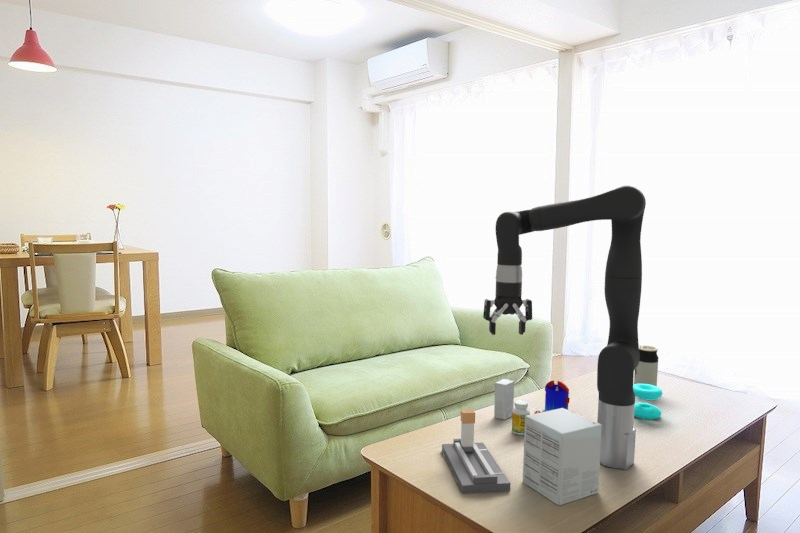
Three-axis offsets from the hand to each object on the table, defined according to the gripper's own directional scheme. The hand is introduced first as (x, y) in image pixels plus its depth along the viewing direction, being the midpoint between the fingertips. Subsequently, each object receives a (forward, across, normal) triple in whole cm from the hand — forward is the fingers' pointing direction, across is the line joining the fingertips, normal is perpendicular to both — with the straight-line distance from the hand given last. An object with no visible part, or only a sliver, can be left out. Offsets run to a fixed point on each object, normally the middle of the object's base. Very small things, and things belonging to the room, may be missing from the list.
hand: (507, 334), depth 161 cm
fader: (+30, -14, -12) cm, 35 cm away
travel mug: (+32, +68, +36) cm, 83 cm away
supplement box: (+32, +4, -30) cm, 45 cm away
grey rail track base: (+32, -14, -19) cm, 40 cm away
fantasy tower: (+32, +24, +18) cm, 44 cm away
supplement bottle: (+32, +7, +4) cm, 33 cm away
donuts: (+32, +54, +14) cm, 65 cm away
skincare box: (+32, +6, +18) cm, 37 cm away
